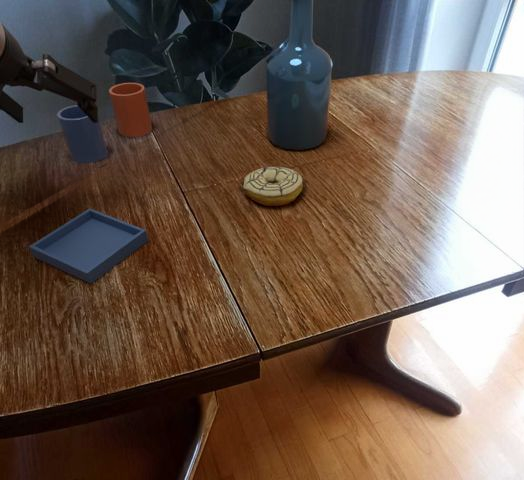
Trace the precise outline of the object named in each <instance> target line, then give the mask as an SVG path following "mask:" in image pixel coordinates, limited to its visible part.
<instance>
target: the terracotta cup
mask: <svg viewBox="0 0 524 480" xmlns="http://www.w3.org/2000/svg"><path fill="white" fill-rule="evenodd" d="M108 93H109V98H110V102H111V106H112V110H113V115H114V118H115V122H116V127H117V130H118V134H120V135H121V136H123V137H127V138H139V137H143V136H146V135H147V134H149V133H151V132H152V131H153V125H152V124H153V123H152V120H151V119H152V118H151V114H150V108H149V105H148V99H147V93H146V87H145V86H144V85H143V84H142V83H138V82H124V83H119V84H118V83H117V84H115V85H113V86H111V87H110V88H109V89H108ZM152 138H153V137H151V138H149V139H147V140H146V141H144V143H146V142H148V141H150V140H152Z"/></svg>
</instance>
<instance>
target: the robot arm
mask: <svg viewBox="0 0 524 480" xmlns="http://www.w3.org/2000/svg"><path fill="white" fill-rule="evenodd" d="M36 75H37V76H36ZM35 79H36V82H35ZM6 86H9V87H19V86H20V87H27V88H30V89H33V90H34V91H38V92H42V91H43V90H44V91H47V92H49V93H53V94H55V95H58V96H60V97H63V98H66V99H68V100H71V101H73V102H76V105H77V106H78V107H79V108H80V109H81V110H82V111H83V112H84V113H85V114H86V115H87V116H88V117H89V118H90V119H91V121H92V122H93V123H98V117H99V113H98V112H99V111H98V106H97V104H96V102H97V84H96V83H94V82H93V81H91V80H88V79H87V78H86V77H84V76H82V75H80V74H79V73H76V72H75V71H73V70H72V69H70V68H68V67H67V66H65V65H63V64H61V63H59V62H58V61H57V60H56V59H55V58H54V57H53V56H52V55H51V54H48V53H43V54H42V59H41V60H40V59H39V60H34V59H33V58H32V57H30V56H29V55H26V54H25V52H24V50H23V48H22V47H21V44H20V43H19V41H18V40H17V38H15V36H14V35H13V34H12V33H11V32H10V31H9V30H8V29H7V28H6V27H5V26H4V25H3V23H2V22H0V111H3V112H4V113H6V115H8V116H9V117H11V118H12V119H13V120H15V121H16V122H17V123H19V124H24V107H23V106H22V104H20V103H19V102H17V101H16V100H15V99H13V98H12V97H11V96H10V95H9V94H8V93H6V91H4V87H6Z"/></svg>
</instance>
